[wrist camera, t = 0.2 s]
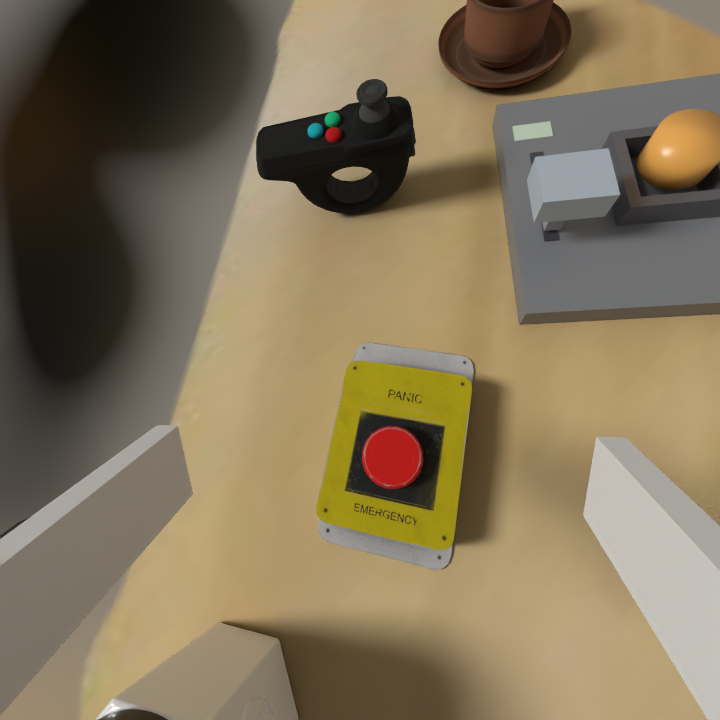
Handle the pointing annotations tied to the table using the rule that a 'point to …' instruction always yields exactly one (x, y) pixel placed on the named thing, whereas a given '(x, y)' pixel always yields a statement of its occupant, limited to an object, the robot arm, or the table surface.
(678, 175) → the amber button
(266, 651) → the jar
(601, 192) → the slate lever
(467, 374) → the emergency button
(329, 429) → the table surface
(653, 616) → the robot arm
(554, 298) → the control panel
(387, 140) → the controller
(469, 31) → the cup and saucer
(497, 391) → the table surface
